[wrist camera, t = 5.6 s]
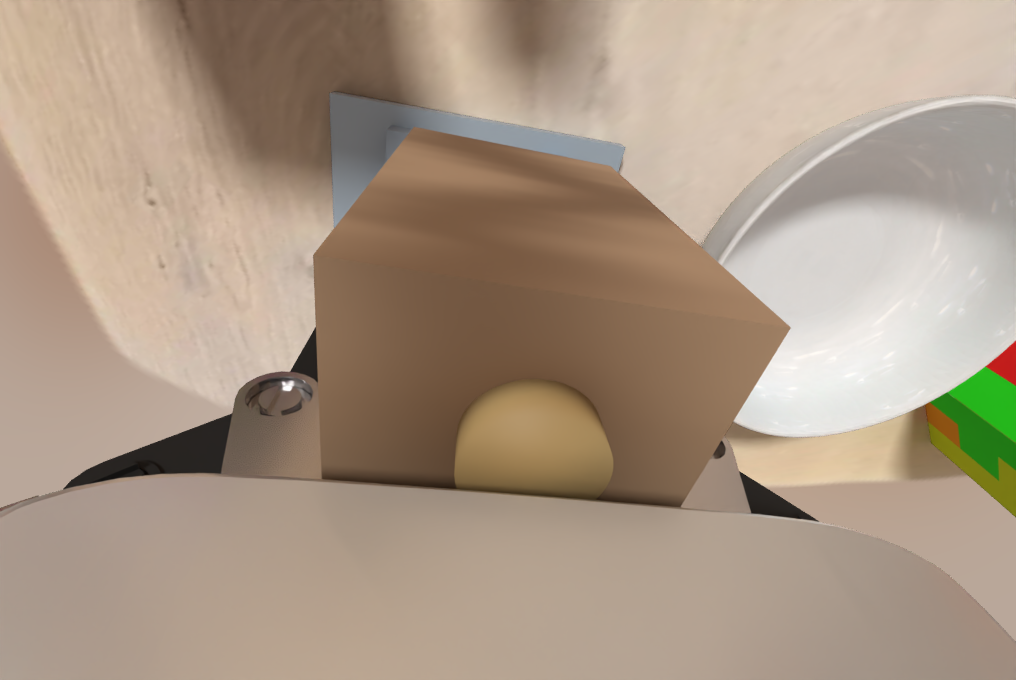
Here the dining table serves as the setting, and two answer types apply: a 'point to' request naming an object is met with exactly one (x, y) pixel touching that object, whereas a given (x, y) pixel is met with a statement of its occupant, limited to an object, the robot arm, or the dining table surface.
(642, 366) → the panel block
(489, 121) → the slot board
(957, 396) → the puzzle toy
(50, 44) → the dining table surface
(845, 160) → the serving bowl
